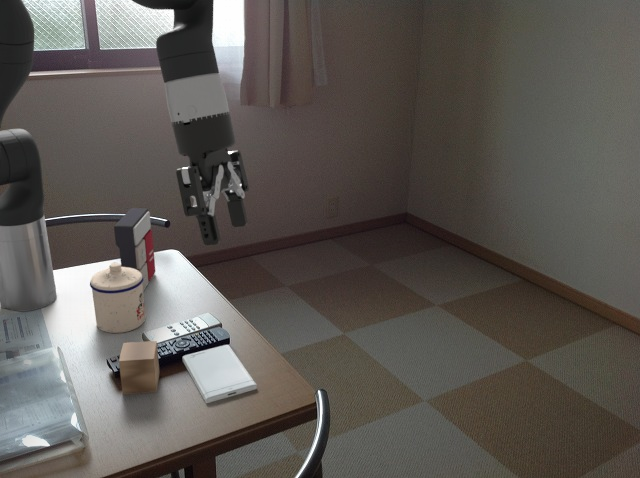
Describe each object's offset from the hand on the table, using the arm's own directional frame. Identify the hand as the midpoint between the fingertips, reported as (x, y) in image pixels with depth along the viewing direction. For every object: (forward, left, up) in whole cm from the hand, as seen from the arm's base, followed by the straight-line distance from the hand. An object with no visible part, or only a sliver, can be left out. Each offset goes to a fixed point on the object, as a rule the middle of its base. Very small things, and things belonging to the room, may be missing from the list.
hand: (227, 234), depth 80 cm
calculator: (-18, +40, -27) cm, 51 cm away
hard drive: (-2, +6, -27) cm, 28 cm away
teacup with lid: (-20, +26, -27) cm, 42 cm away
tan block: (-14, +5, -26) cm, 30 cm away
